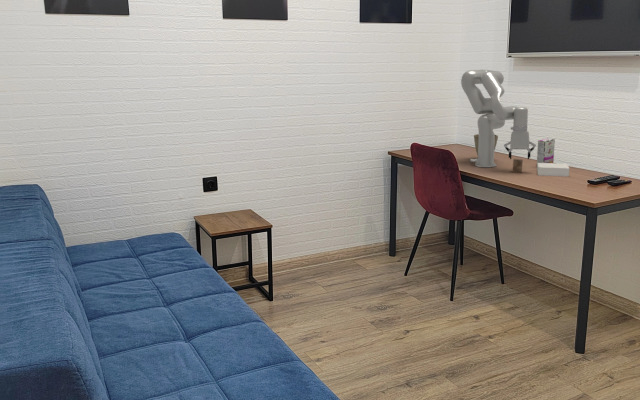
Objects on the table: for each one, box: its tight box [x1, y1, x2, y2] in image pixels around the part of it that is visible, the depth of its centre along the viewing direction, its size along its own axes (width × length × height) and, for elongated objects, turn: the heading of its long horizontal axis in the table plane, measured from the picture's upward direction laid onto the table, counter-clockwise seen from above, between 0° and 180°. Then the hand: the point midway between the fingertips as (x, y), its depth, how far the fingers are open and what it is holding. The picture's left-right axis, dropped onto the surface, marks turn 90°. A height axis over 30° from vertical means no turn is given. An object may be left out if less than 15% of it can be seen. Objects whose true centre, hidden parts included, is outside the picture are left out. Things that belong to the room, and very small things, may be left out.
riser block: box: [536, 162, 570, 178], centre depth 331 cm, size 16×14×5 cm
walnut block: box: [512, 158, 524, 174], centre depth 337 cm, size 5×5×7 cm
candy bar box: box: [536, 138, 556, 165], centre depth 349 cm, size 11×5×16 cm, turn 129°
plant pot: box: [473, 133, 499, 157], centre depth 375 cm, size 15×15×16 cm
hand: (519, 159), depth 335 cm, fingers open, 9 cm apart
